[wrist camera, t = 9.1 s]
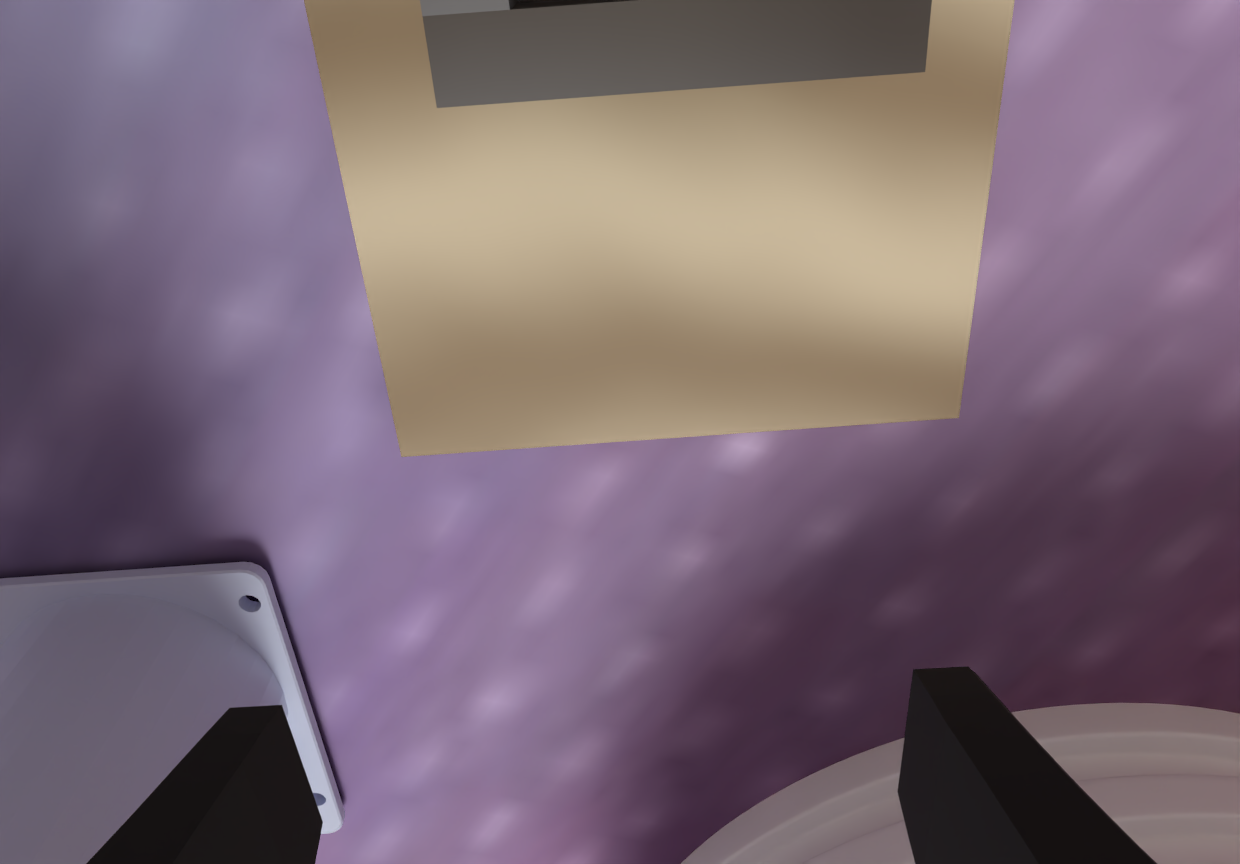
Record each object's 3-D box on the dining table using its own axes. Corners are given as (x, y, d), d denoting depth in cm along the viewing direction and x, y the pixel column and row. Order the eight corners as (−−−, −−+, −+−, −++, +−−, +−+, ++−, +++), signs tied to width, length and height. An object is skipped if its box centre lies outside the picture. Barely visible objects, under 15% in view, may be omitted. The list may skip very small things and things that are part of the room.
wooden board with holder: (942, 396, 20) (1021, 499, 16) (410, 434, 20) (368, 544, 16) (1056, -539, 13) (1243, -731, 9) (223, -472, 13) (75, -637, 9)
